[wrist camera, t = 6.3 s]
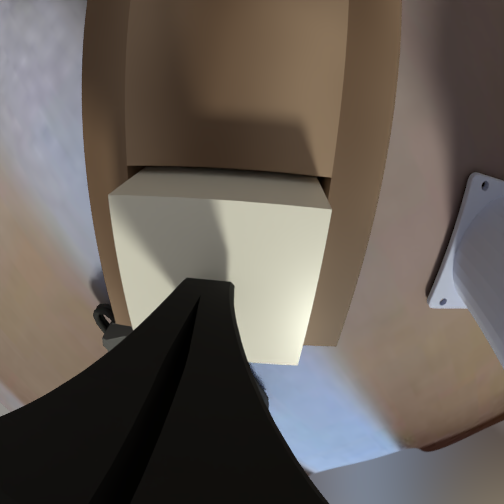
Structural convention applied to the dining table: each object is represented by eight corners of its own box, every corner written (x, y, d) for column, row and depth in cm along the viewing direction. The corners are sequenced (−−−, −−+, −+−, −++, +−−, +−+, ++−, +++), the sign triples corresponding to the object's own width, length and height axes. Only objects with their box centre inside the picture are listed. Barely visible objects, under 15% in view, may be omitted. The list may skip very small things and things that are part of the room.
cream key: (316, 176, 10) (331, 209, 8) (294, 312, 13) (297, 365, 11) (146, 166, 10) (107, 195, 8) (159, 299, 13) (137, 347, 11)
